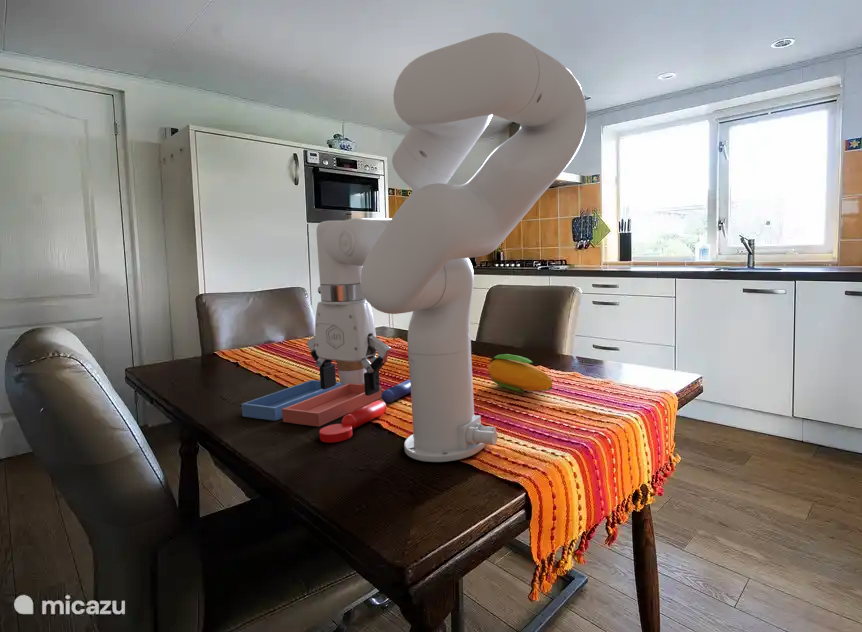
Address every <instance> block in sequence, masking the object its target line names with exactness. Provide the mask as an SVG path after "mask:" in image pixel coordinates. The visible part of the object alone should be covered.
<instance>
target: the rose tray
mask: <svg viewBox="0 0 862 632" xmlns="http://www.w3.org/2000/svg"><path fill="white" fill-rule="evenodd" d="M382 393H383V386H382V385H380V390H379V391H378V392H376V393H374V394H372V395H370V396H368V395H366V394H365V386H364V384H352V383H348V384H346V385H343V386H341V387H338V388H335V389H333V390H330V391H328V392H325V393H322V394H320V395H317V396H315V397H312V398H309V399H307V400H304V401H302V402H299V403H296V404H294V405H291V406H289V407H286V408H283V409H282V414H283V418H282V422H283V423H289V424H297V425H303V426H312V427H322V426H324V425H326V424H329V423H331V422H333V421H335V420H337V419H340V418H341V417H344V416H345V415H347V414H349V413H351V412H353V411H356V410H358V409H360V408H362V407H364V406H366V405H369V404H371V403H373V402H375V401H378V400H381V399H382V397H381V395H382Z"/></svg>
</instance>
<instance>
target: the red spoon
mask: <svg viewBox="0 0 862 632" xmlns="http://www.w3.org/2000/svg"><path fill="white" fill-rule="evenodd" d="M386 412H387V403H386V402H384V401H383V400H381V399H378V400H376V401H374V402H372V403H370V404H367V405H365V406H363V407H361V408H359V409H357V410H354V411H352V412H350V413H348V414H346V415H344V416H342V419H341V423H334V424H330V425H327V426H326V425H325V426H324V427H322V428H320V429H319V432H318V433H319V440H320V441H321V442H322V443H328V444H329V443H331V444H333V443H338V442H343V441H346V440H348V439H350V438H352V436H353V430H354V429H357V428H359V427H361V426H363V425H364V424H366V423H368V422H370V421H373V420H374V419H376V418H378V417H381V416H382V415H384V414H385V413H386Z"/></svg>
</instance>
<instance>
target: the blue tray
mask: <svg viewBox="0 0 862 632" xmlns="http://www.w3.org/2000/svg"><path fill="white" fill-rule="evenodd" d="M341 386H342V383H341V382H340V381H336V385H335V386H332V387H330V388H327V389H321V383H320V379H319V380H316V379H310V380H307V381H304V382H301V383H298V384H296V385H293V386H290V387H287V388H284V389H281V390H278V391H275V392H272V393H270V394H266V395H264V396H261V397H258V398H254V399H252V400H249V401H246V402H243V403H240V405H241V406H240V407H241V415H242V417H245V418H253V419H259V420H265V421H266V420H267V421H274V422H276V421H279V420H281V419H283V414H282V409H283V408H286V407H289V406H291V405H294V404H296V403H299V402H302V401H304V400H307V399H309V398H312V397H315V396H317V395H320V394H322V393H325V392H328V391H330V390H333V389H335V388H338V387H341Z"/></svg>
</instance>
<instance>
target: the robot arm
mask: <svg viewBox="0 0 862 632" xmlns="http://www.w3.org/2000/svg"><path fill="white" fill-rule="evenodd" d="M393 105H394V110H395V111H396V114H397V116H398V117H399V118H400V119H401V121H402V122H404V123H405V124H406V125H408V126H409V129H408V130H407V132H406V134H405V135H404V137H403V139H402V140H401V142H400V143H399V145H398V146H397V148H396V149H395V151H394V153H393V155H392V159H391V163H392V167H393V169H394V171H395V173H396V174H397V176H398V177H399V179H401V181H402V182H403V183H405V185H407V186H408V187H409V188H410V189H411V193H410V194H409V196H407V197H406V199H405V200H404V201H403V202H402V204H401V205H400V206H399V208H398V209H397V211H396V212H395V213H394V214H393V216H392V217H391V218H390V217H389V218H388V217H353V218H349V219H344V220H324V221H323V220H322V221H321V222H319V223H318V225H317V226H316V246H317V261H318V276H319V277H318V278H319V286H318V288H317V292H318V294H320V301H318V302H317V306H316V311H315V321H314V323H315V324H314V336H313V337H311V338H309V339H308V340H307V341H306V345H307V347H308V349H309V351H310V352H311V353H310V356H311V357H312V359H313V360H314V361H315V365H316V367H317V368H319V369H318V370H319V381H320V383H321V389H327V388H330V387H332V386H335V385H336V382H337V375H336V365H335V363H333V361H335V362H336V361H344V362H359V361H360V362H361V364H362V365H363V366H364V368H365V369H366V373H364V384H363V385H364V386H365V394H366V395H368V396H370V395H372V394H374V393H376V392H378V391H379V390H380V386H381V384H380V383H381V382H380V381H381V380H380V371H381V370H382V369H383V366H384V365H385V364H386V363H387V361H388V357H389V355H390V352H391V347H390V346H389V345H388V344H387V343H385V342H383V341H382V340H381V339H379V338H378V337H377V331H376V324H375V323H376V322H375V317H374V313H373V308H374V309H375V310H377V311H378V312H381V313H384V314H390V315H399V314H406V313H411V312H412V315H411V317H410V320H409V324H408V329H407V357H408V358H407V359H408V371H409V379H410V388H411V393H410V397H411V398H410V399H411V400H410V402H411V416H412V431H413V434H410V436H408V437H407V438H406V439H405V440H404V443H403V449H404V453H405V454H406V455H407V456H408V457H409V458H411V459H413V460H416V461H420V462H425V463H426V462H427V463H448V462H454V461H459V460H463V459H466V458H469V457H472V456H474V455H476V454H478V453H479V452H481V451H482V450H483V449H484V448H485V446H486V445H491V446H496V444H497V442H498V432H497V427H496V426H490V425H489V426H488V425H487V426H484V425H483V424H482V419H481V418H482V417H481V415H477V414H475V401H474V400H475V399H474V382H473V379H474V378H473V361H472V338H471V310H472V300H473V292H474V285H475V276H474V268H473V263H472V261H471V259H472V258H478V257H484V256H487V255H490V254H491V253H493V252H494V251H496V250H497V249H498V248H499V247H500V245H501V244H503V242H504V241H505V240H506V238H508V236H509V235H510V234H511V232H512V231H514V229H515V228H516V227H517V225H518V224H519V223H520V222H521V221H522V220H523V219H524V217H525V216H526V215H527V214H528V213H529V211H531V209H532V208H533V207H534V205H535V204H536V202H538V201H539V199H540V198H541V197H542V196H543V195H544V193H546V191H548V189H550V186H552V184H553V183H554V182H555V181H556V180H557V179H558V178H559V177H560V176H561V174H562V173H563V172H564V171H565V170H566V169H567V167H568V166H569V165H570V163H571V162H572V160H573V159H574V158H575V156H576V155H577V153H578V151H579V149H580V147H581V145H582V142H583V139H584V137H585V133H586V129H587V118H588V112H587V103H586V98H585V94H584V92H583V89H582V86H581V84H580V83H579V81H578V79H577V78H576V77H575V76H574V74H573V73H572V72H571V70H570V69H568V68H567V66H565V65H564V64H563V63H561V62H560V61H559V60H557V59H556V58H554V57H553V56H552V55H549V54H548V53H546V52H544V51H543V50H540V49H539V48H537V47H536V46H534V45H533V44H531V43H529V42H528V41H527V40H525V39H523V38H521V37H520V36H517V35H514V34H511V33H508V32H489V33H485V34H481V35H477V36H475V37H471V38H468V39H466V40H462V41H459V42H457V43H453V44H449V45H447V46H444V47H440V48H437V49H434V50H431V51H428V52H427V53H426V52H425V53H424V54H422V55H420V56H417V57H416V58H414V59H413V60H411V61H410V62H409V63H408V64H407V65H406V66H405V67H404V68H403V69H402V70H401V72H400V74H399V75H398V77H397V79H396V81H395V85H394V88H393ZM493 116H495V117H498V118H500V119H504V120H506V121H510V122H512V123H515V124H518V125H519V129H518V130H517V132H515V133H514V134H513V135H512V136H510V137H509V138H507V139H506V140H505V141H503V142H502V143H500V144H499V145H498V146H497V147H496V148H495V149H494V150H493V151H492V152H491V153H490V154H489V155H488V157H487V158H486V159H485V161H484V162H483V164H482V165H481V167H480V168H479V169H477V171H476V173H475V174H474V175H473V176H472V177H471V178H470V179H469V180H467V182H466V183H462V184H453V183H449V181H450V180H451V178H453V176H454V174H455V173H456V171H457V170H458V169H459V167H460V166H461V164H462V163H463V161H464V160H465V159H466V157H467V156H468V154H469V153H470V152H471V150H472V149H473V147H474V146H475V144H476V143H477V142H478V141H479V138H480V137H481V136H482V135H483V133H484V132H485V130H486V129H487V127H488V126H489V124H490V122H491V120H492V117H493Z"/></svg>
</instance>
